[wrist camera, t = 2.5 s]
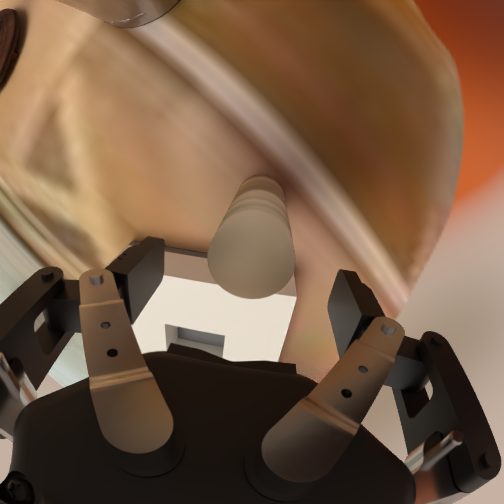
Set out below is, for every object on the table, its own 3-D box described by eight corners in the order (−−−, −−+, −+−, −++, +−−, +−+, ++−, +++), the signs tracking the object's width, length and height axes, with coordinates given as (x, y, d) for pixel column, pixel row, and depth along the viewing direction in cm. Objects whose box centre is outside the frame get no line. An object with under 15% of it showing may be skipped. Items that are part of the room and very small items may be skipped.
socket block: (132, 241, 26) (108, 263, 21) (293, 267, 26) (296, 297, 21) (143, 352, 33) (130, 379, 28) (264, 375, 33) (262, 406, 28)
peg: (240, 171, 22) (211, 213, 12) (288, 179, 22) (304, 228, 12) (234, 216, 24) (204, 291, 13) (279, 223, 24) (285, 304, 13)
